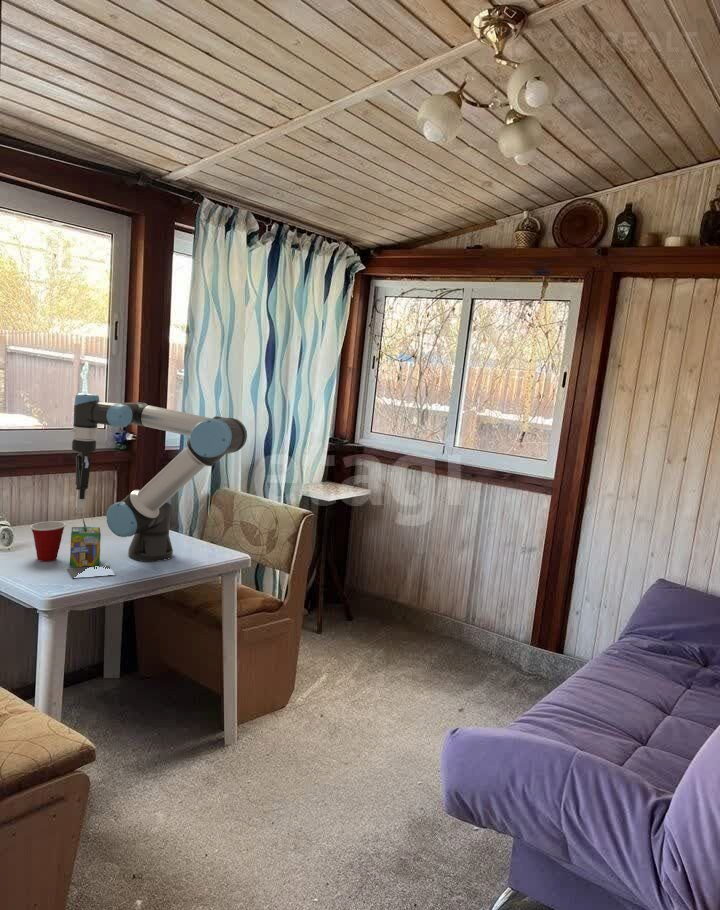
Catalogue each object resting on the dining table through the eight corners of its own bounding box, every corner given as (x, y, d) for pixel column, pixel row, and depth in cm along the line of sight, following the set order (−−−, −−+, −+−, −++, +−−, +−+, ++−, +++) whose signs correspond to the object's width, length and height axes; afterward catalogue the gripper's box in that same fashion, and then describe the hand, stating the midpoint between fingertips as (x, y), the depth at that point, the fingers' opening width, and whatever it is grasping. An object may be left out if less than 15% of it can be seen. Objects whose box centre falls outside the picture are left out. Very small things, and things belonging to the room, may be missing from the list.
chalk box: (99, 567, 225) (102, 523, 224) (69, 567, 222) (71, 523, 220) (99, 559, 234) (101, 516, 232) (69, 559, 230) (72, 516, 229)
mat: (108, 566, 227) (108, 565, 227) (116, 575, 219) (116, 574, 218) (66, 569, 220) (66, 568, 220) (72, 579, 211) (72, 577, 211)
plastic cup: (29, 554, 231) (31, 519, 230) (64, 554, 235) (66, 520, 234) (26, 564, 221) (28, 527, 220) (63, 563, 225) (65, 528, 224)
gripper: (69, 436, 235) (65, 503, 238) (76, 441, 224) (72, 512, 227) (92, 437, 239) (88, 503, 242) (100, 442, 228) (96, 511, 231)
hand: (80, 507), depth 234 cm, fingers closed
